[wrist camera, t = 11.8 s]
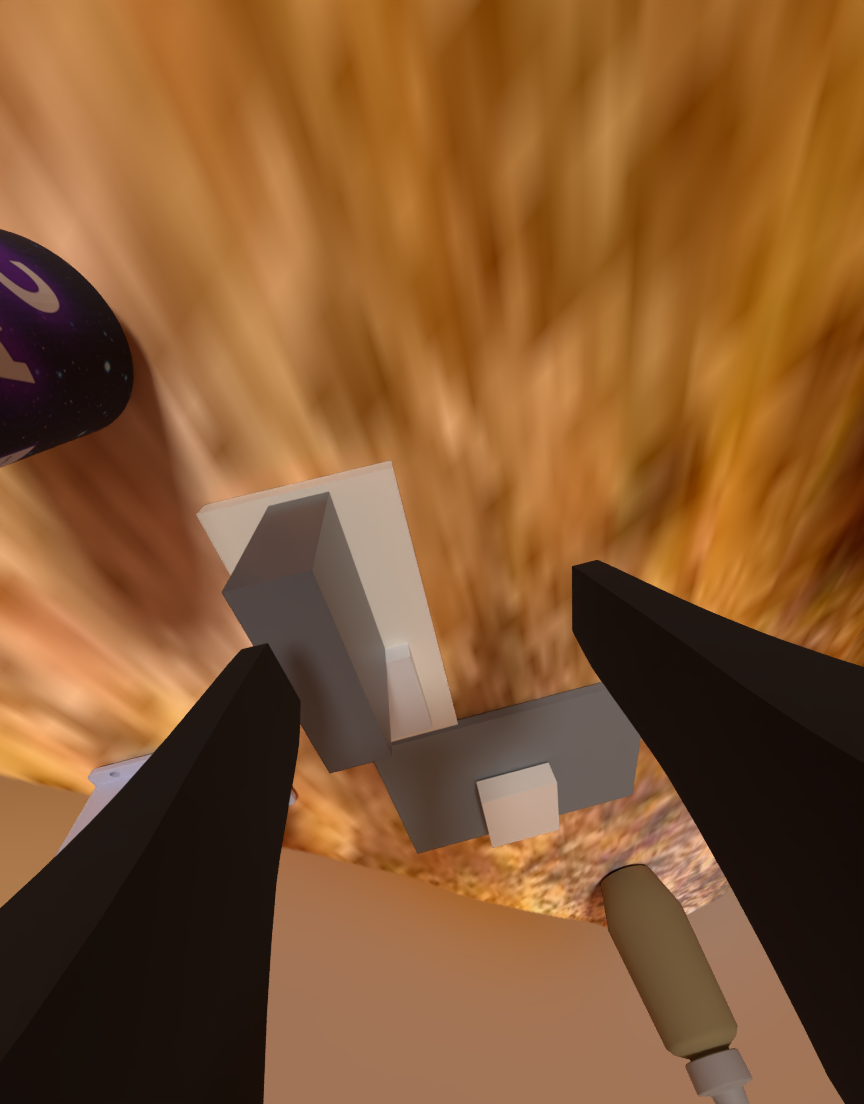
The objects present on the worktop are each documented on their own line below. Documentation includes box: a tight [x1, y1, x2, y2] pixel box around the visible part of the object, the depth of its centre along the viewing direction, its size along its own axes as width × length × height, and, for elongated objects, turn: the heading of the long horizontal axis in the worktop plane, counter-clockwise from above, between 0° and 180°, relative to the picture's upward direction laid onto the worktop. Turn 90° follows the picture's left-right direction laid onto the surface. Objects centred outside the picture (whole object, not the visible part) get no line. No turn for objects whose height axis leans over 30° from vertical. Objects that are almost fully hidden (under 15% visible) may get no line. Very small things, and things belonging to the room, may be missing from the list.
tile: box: [476, 763, 559, 848], centre depth 30 cm, size 6×2×7 cm
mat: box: [374, 682, 641, 854], centre depth 29 cm, size 19×15×1 cm
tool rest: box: [196, 461, 458, 742], centre depth 20 cm, size 8×17×1 cm, turn 11°
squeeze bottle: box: [601, 865, 752, 1104], centre depth 36 cm, size 8×8×18 cm
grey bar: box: [222, 492, 433, 773], centre depth 17 cm, size 5×15×6 cm, turn 11°
